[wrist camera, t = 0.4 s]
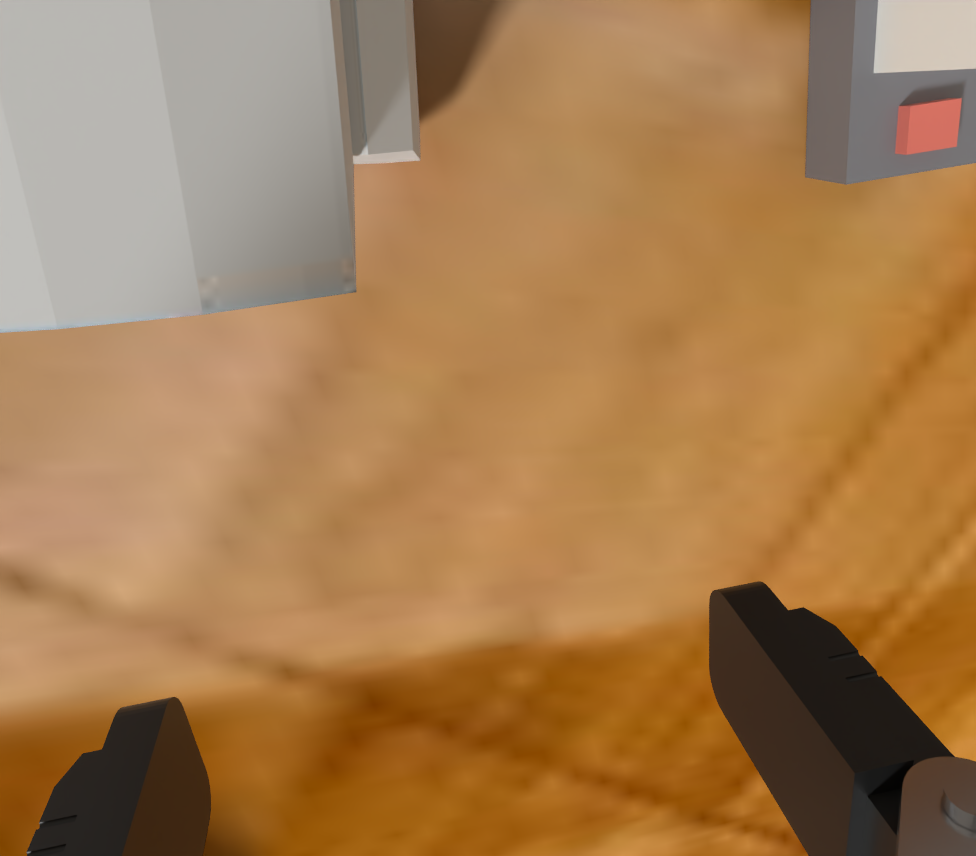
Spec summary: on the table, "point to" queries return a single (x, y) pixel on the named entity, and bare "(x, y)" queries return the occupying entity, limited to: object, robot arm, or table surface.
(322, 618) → the table surface
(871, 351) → the table surface
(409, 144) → the electronic device
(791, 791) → the robot arm
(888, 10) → the block
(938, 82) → the power strip
